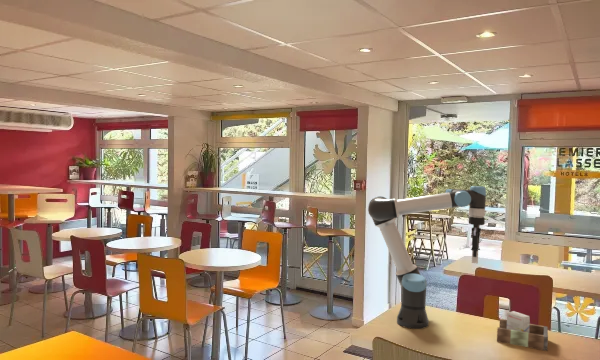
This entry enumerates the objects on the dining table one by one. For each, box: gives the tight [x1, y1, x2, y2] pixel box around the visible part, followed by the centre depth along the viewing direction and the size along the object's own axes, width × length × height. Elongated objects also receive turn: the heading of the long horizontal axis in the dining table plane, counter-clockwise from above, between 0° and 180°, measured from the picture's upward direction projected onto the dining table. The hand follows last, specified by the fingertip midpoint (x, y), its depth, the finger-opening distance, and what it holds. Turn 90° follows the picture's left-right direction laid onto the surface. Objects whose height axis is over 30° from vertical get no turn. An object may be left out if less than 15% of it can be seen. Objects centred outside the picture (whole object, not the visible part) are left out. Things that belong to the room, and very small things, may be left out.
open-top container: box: [496, 318, 549, 352], centre depth 209 cm, size 20×15×6 cm
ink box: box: [506, 310, 531, 333], centre depth 210 cm, size 9×5×12 cm, turn 30°
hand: (474, 262), depth 234 cm, fingers closed
